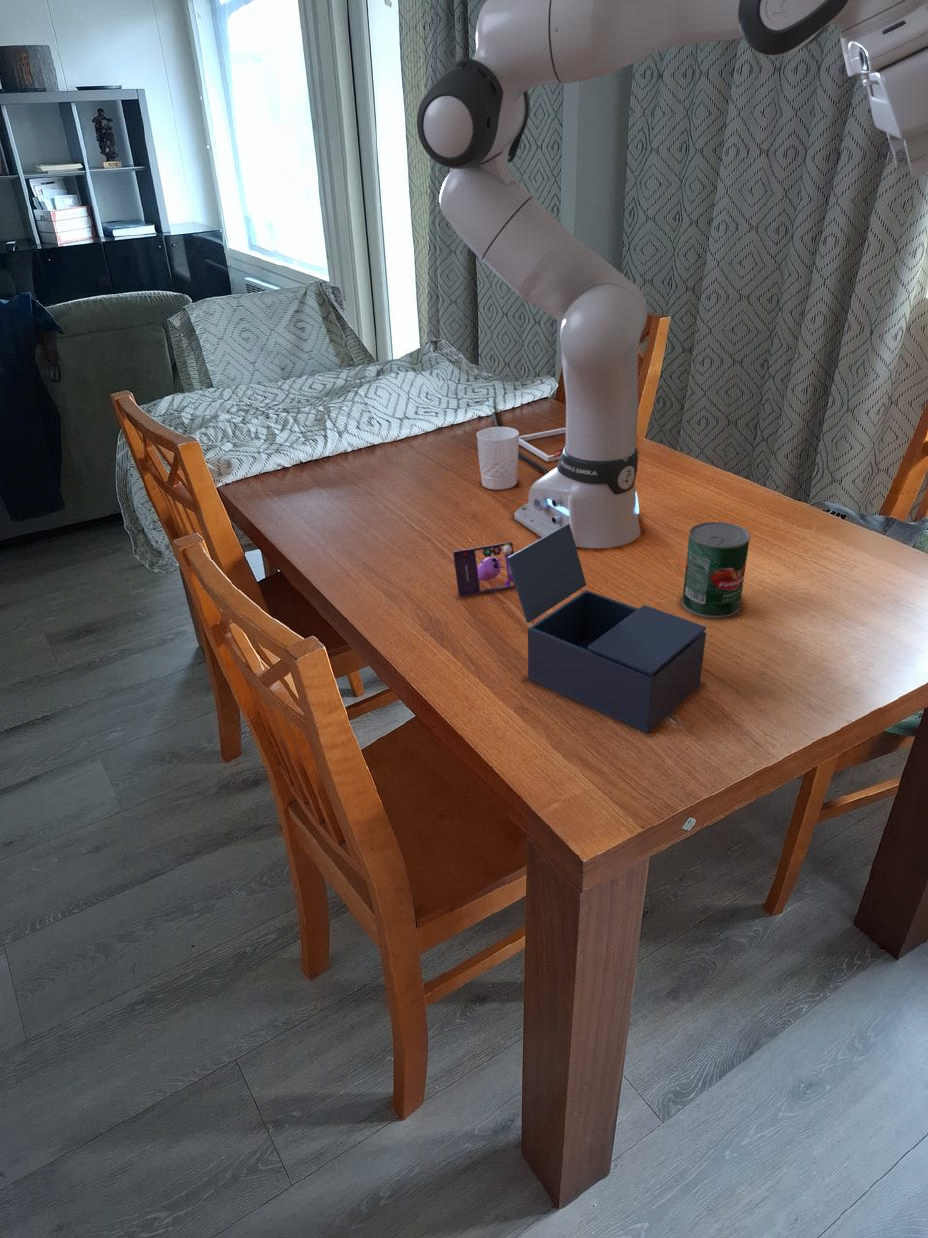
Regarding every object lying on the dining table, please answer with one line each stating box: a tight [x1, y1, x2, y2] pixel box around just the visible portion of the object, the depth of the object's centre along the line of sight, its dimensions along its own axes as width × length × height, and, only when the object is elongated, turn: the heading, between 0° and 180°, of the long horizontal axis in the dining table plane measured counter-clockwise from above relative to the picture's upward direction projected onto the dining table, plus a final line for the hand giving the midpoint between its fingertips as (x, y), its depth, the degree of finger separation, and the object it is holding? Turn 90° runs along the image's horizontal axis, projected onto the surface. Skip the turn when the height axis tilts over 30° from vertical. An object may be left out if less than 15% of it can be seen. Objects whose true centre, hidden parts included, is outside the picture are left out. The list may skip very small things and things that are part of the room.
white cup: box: [476, 426, 520, 491], centre depth 156 cm, size 8×8×10 cm
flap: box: [507, 524, 587, 624], centre depth 101 cm, size 8×12×1 cm
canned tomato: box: [681, 521, 751, 619], centre depth 113 cm, size 8×8×11 cm
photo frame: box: [519, 427, 566, 462], centre depth 176 cm, size 15×1×18 cm
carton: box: [527, 589, 707, 734], centre depth 99 cm, size 17×12×8 cm
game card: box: [452, 541, 516, 598], centre depth 123 cm, size 7×5×9 cm
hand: (912, 169), depth 97 cm, fingers open, 8 cm apart
